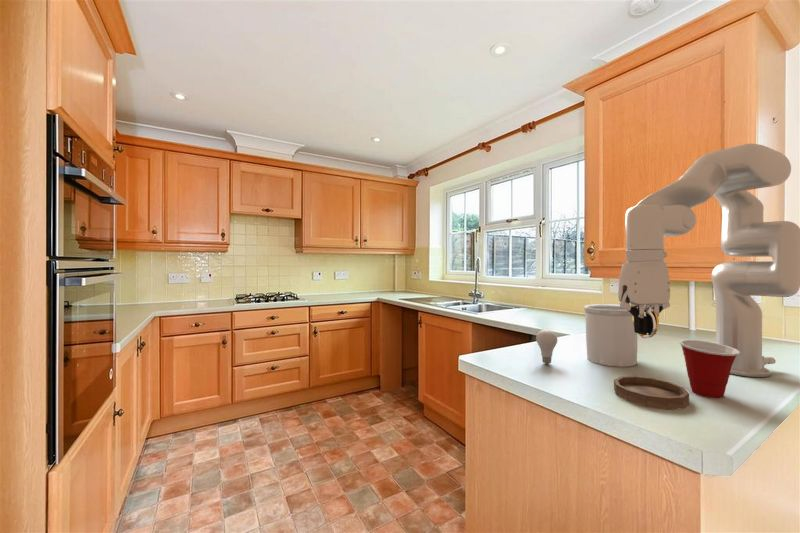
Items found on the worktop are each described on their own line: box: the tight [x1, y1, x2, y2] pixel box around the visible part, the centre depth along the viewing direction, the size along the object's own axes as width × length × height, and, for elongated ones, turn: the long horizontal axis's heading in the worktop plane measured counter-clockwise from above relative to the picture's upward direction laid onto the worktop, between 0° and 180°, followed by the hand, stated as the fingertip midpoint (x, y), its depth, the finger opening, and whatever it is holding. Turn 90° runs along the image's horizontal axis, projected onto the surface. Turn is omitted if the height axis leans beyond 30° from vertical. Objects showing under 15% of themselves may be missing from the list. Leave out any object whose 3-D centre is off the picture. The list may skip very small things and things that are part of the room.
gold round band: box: [632, 305, 660, 339], centre depth 82 cm, size 7×3×8 cm, turn 177°
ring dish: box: [613, 375, 690, 411], centre depth 81 cm, size 14×14×2 cm
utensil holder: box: [583, 303, 638, 368], centre depth 110 cm, size 15×15×18 cm
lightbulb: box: [535, 329, 558, 365], centre depth 107 cm, size 6×6×11 cm
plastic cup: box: [679, 339, 740, 399], centre depth 82 cm, size 11×11×12 cm
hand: (644, 333), depth 82 cm, fingers closed on gold round band, 1 cm apart
